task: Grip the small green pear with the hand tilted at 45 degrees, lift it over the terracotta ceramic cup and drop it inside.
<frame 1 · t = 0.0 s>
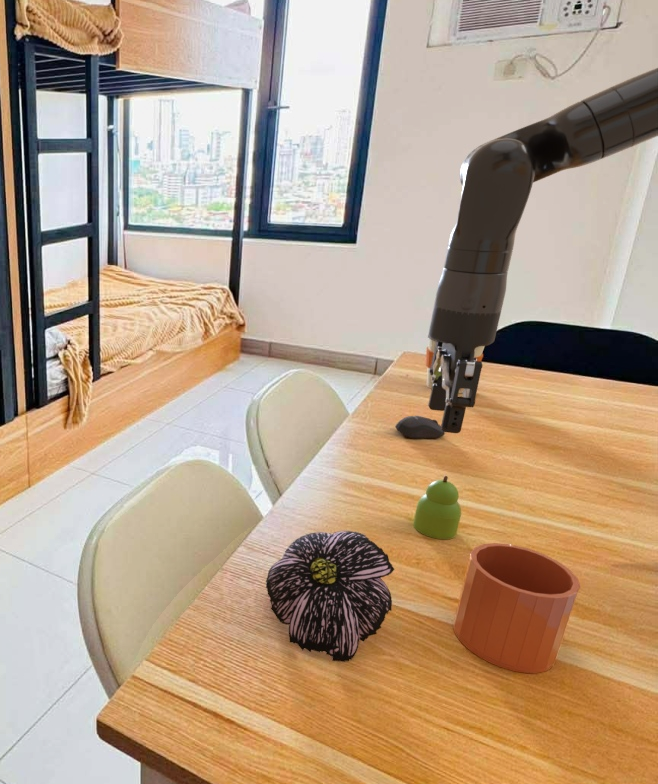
hand: (443, 420, 87), 19 cm above the table, tool pointing down, fingers open, 8 cm apart
green pear: (434, 528, 95), on the table
computer mouse: (418, 435, 129), on the table
decorative flower: (322, 622, 76), on the table
reusable coffee cup: (446, 387, 156), on the table
terracotta cup: (502, 640, 73), on the table
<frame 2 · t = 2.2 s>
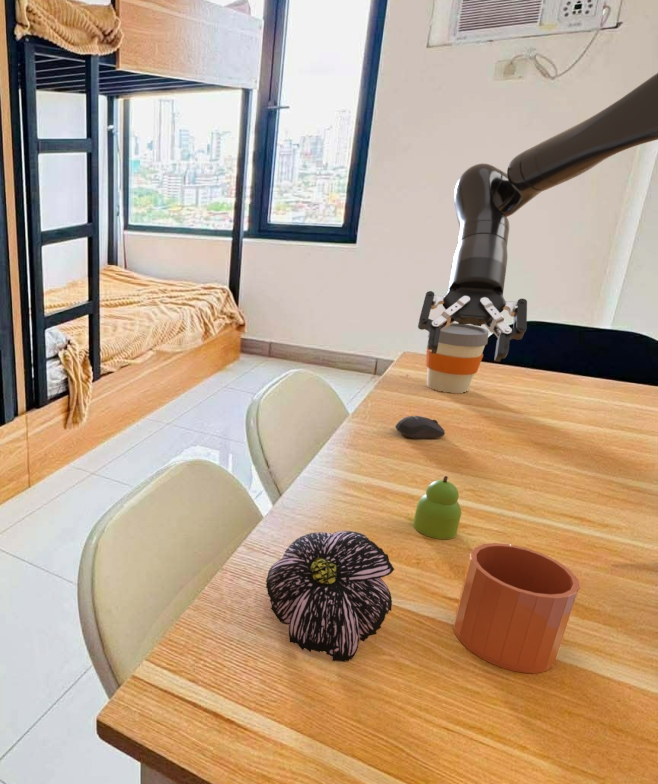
hand: (465, 355, 96), 25 cm above the table, tool tilted 45°, fingers open, 8 cm apart
nothing on the table moved.
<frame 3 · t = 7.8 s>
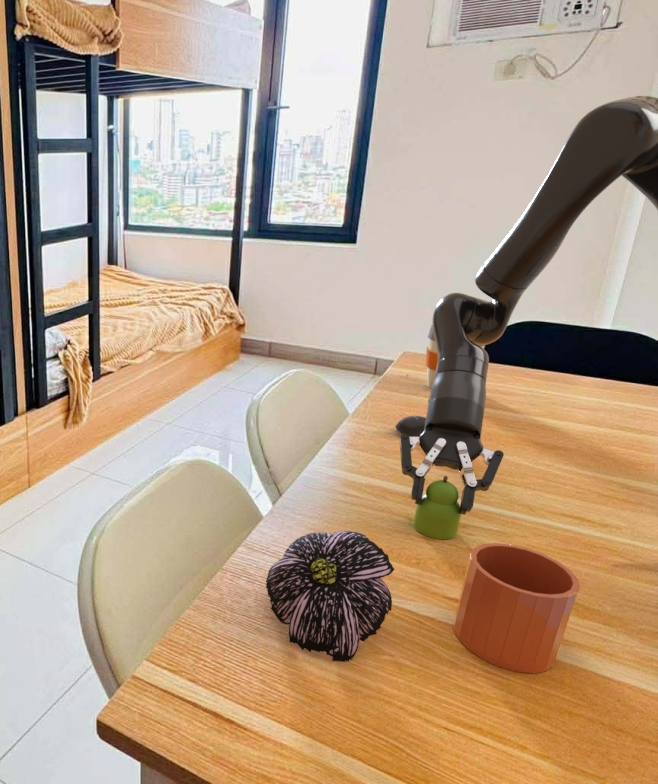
hand: (440, 507, 92), 5 cm above the table, tool tilted 45°, fingers closed on green pear, 5 cm apart
green pear: (434, 528, 95), on the table, touching gripper
everything else where it was.
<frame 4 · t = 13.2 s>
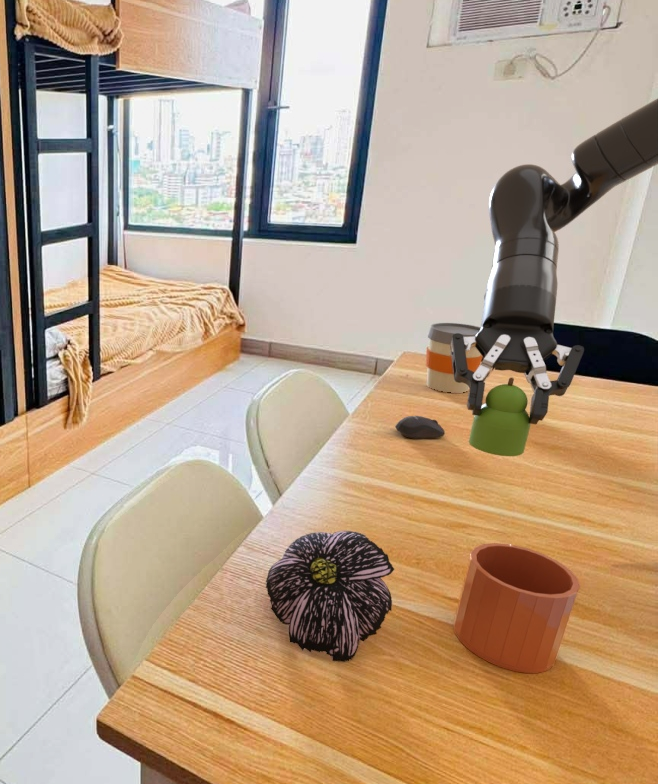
hand: (505, 416, 75), 24 cm above the table, tool tilted 45°, fingers closed on green pear, 5 cm apart
green pear: (495, 446, 78), point 19 cm above the table, touching gripper
everything else where it was.
when the fingers open (12 cm above the table, at t = 18.8 s): green pear drops 7 cm, resting on terracotta cup.
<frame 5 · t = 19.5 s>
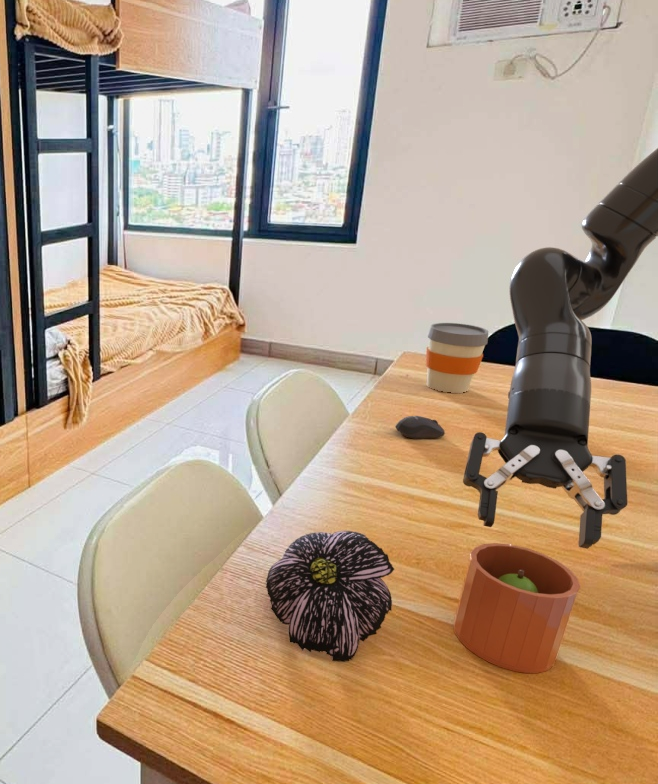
hand: (535, 535, 67), 15 cm above the table, tool tilted 45°, fingers open, 8 cm apart
green pear: (503, 635, 73), point 1 cm above the table, touching terracotta cup
everything else where it was.
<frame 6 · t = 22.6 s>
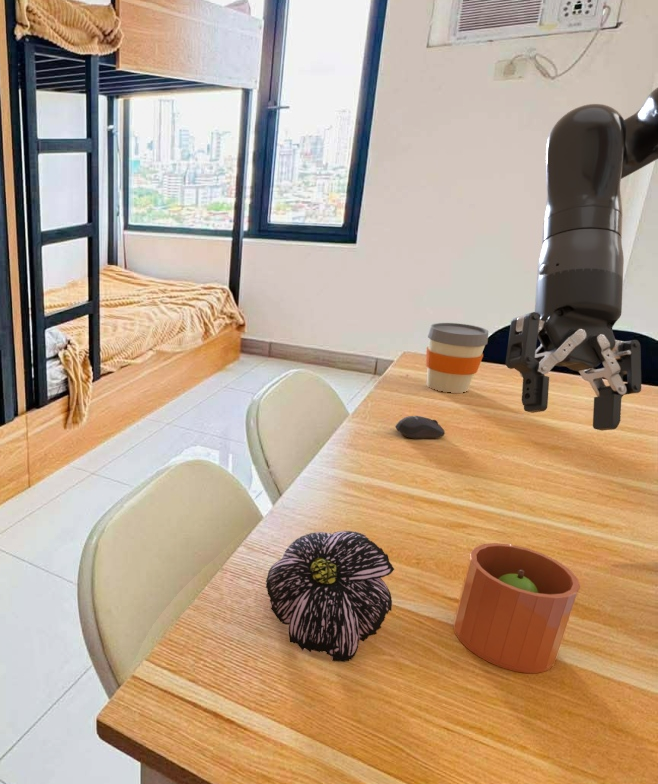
hand: (570, 420, 67), 27 cm above the table, tool tilted 35°, fingers open, 8 cm apart
nothing on the table moved.
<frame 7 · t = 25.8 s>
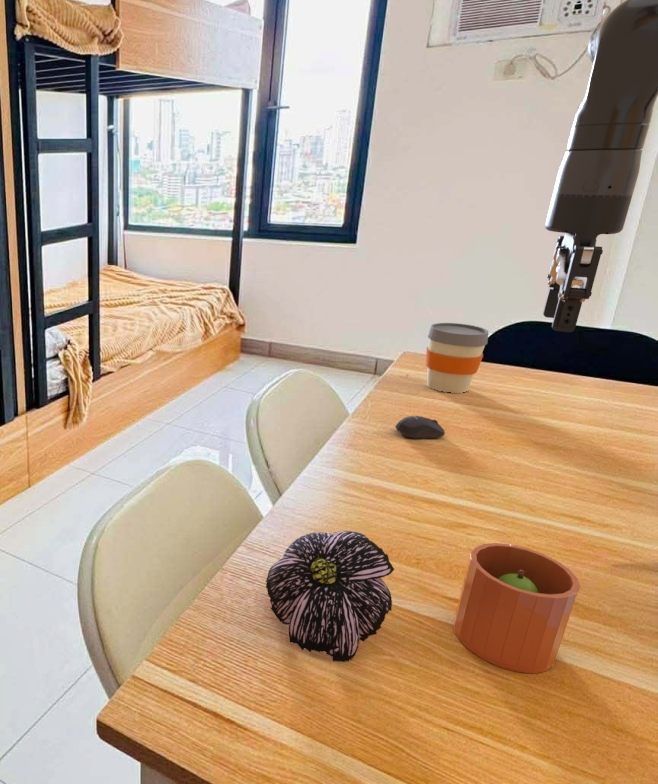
hand: (557, 323, 80), 33 cm above the table, tool pointing down, fingers open, 8 cm apart
nothing on the table moved.
at the end: green pear inside the target area in the terracotta cup (0.2 cm from its centre), point 0.6 cm above the terracotta cup's base; the gripper is holding nothing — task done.
